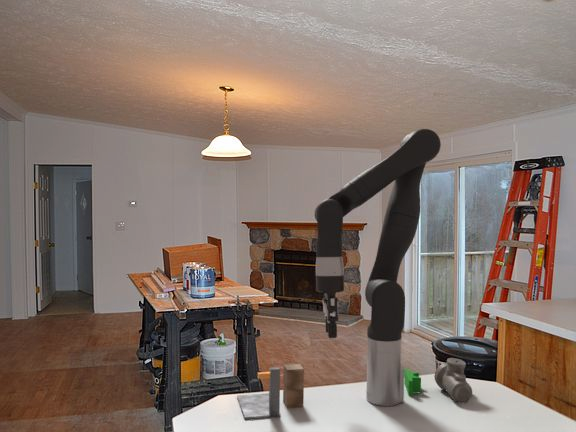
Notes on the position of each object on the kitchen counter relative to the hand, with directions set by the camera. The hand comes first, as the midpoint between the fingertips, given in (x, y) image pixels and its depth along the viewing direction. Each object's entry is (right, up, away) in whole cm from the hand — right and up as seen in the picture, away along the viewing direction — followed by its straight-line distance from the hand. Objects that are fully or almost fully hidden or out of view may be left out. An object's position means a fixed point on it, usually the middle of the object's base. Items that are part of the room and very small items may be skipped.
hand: (331, 335), depth 133 cm
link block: (-10, -19, 0) cm, 21 cm away
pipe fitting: (+35, -19, +7) cm, 41 cm away
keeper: (-19, -18, -2) cm, 27 cm away
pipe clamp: (+25, -19, +12) cm, 34 cm away
